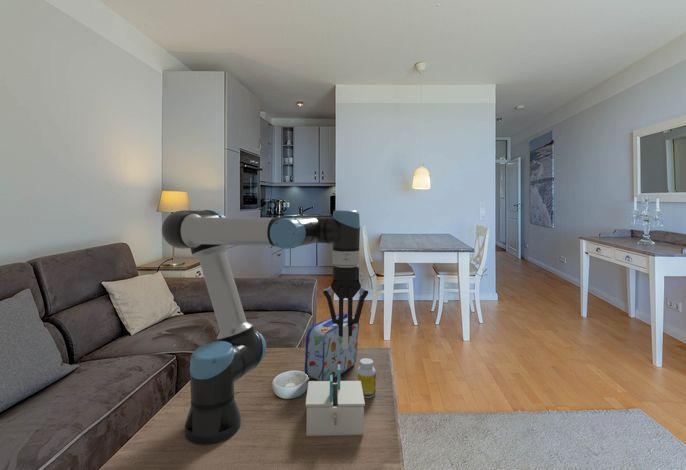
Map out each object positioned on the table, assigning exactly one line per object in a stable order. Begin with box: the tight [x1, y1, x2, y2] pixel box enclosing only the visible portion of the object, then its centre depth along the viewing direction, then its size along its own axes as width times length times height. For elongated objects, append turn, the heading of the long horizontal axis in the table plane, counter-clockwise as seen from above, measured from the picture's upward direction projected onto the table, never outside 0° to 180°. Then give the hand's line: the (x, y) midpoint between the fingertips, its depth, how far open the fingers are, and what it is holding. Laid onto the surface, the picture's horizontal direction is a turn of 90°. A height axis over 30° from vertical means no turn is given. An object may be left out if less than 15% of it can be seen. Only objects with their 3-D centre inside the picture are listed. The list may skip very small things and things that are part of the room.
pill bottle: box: [356, 357, 377, 399], centre depth 120 cm, size 6×6×12 cm
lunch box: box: [304, 313, 360, 381], centre depth 136 cm, size 28×10×22 cm, turn 148°
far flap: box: [336, 364, 366, 407], centre depth 104 cm, size 8×13×7 cm, turn 2°
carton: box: [306, 382, 365, 437], centre depth 104 cm, size 16×16×8 cm
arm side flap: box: [305, 375, 334, 408], centre depth 104 cm, size 8×13×7 cm, turn 2°
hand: (345, 347), depth 100 cm, fingers closed
